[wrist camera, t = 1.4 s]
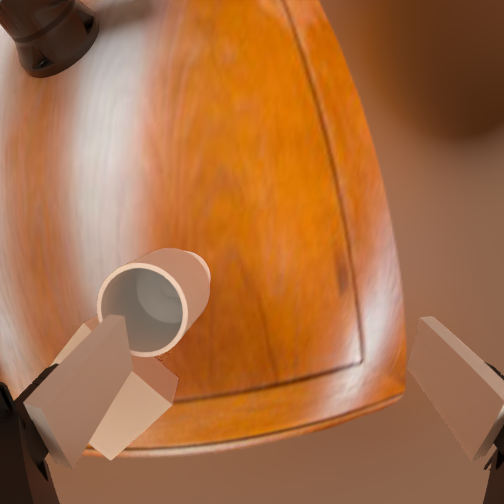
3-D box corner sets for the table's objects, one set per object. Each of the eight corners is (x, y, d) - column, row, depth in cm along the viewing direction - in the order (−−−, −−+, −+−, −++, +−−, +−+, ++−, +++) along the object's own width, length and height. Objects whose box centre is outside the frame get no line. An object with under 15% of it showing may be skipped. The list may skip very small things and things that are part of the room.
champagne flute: (198, 312, 38) (180, 394, 14) (150, 291, 37) (66, 340, 14) (219, 263, 39) (230, 275, 15) (169, 242, 38) (106, 220, 14)
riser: (58, 370, 35) (32, 390, 27) (106, 310, 37) (83, 322, 29) (124, 430, 36) (110, 460, 28) (179, 378, 38) (172, 404, 30)
